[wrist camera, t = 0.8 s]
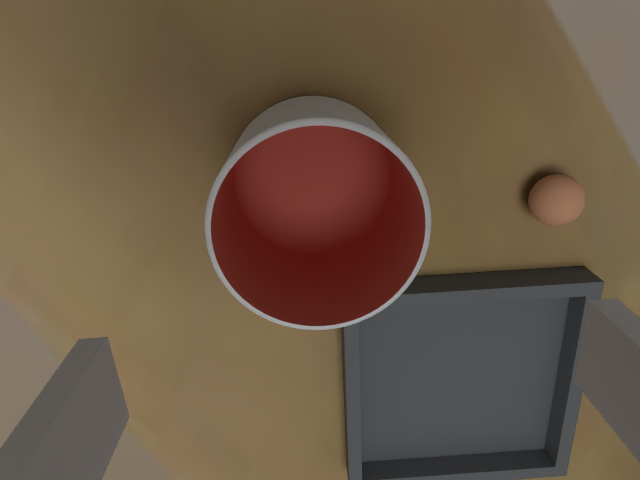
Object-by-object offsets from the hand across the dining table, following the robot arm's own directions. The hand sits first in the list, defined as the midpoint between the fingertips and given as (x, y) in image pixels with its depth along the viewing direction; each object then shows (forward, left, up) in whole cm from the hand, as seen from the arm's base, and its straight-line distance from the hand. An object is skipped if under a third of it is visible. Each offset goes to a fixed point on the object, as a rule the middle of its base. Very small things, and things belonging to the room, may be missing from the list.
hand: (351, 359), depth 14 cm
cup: (0, -1, -19) cm, 19 cm away
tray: (+16, +9, -19) cm, 26 cm away
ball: (+2, +14, -19) cm, 24 cm away
